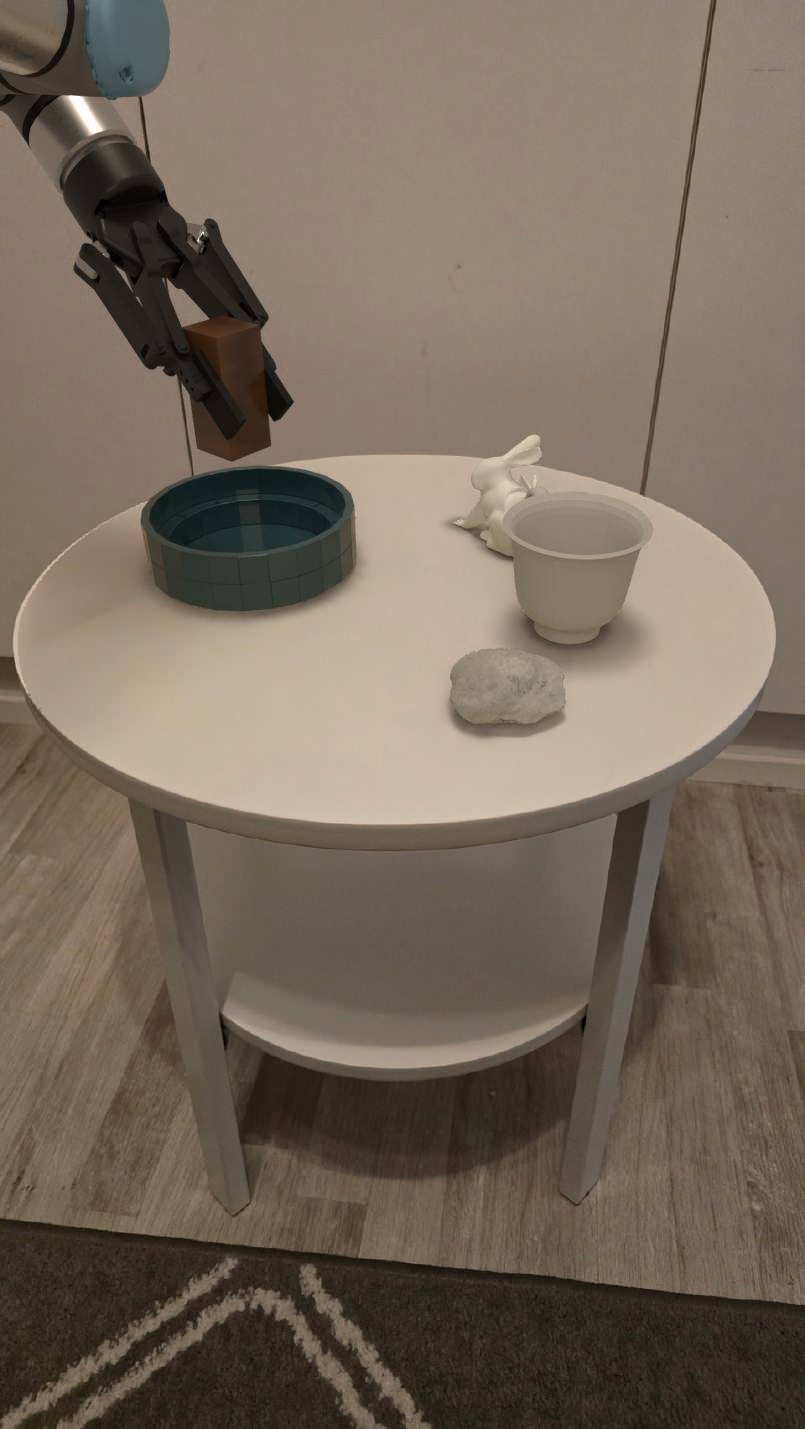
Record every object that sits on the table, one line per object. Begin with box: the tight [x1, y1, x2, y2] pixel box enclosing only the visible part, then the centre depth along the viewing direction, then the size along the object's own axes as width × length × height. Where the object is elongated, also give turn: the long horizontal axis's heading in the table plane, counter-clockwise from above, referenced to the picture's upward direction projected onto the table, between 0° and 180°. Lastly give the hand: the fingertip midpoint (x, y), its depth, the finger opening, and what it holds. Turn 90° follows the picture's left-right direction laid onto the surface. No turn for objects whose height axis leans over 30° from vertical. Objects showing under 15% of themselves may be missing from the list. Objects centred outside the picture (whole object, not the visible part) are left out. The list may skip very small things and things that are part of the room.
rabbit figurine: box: [452, 434, 543, 557], centre depth 96 cm, size 12×8×10 cm, turn 28°
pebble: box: [449, 647, 567, 725], centre depth 74 cm, size 9×8×5 cm
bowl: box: [139, 464, 358, 613], centre depth 93 cm, size 20×20×6 cm
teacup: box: [503, 485, 654, 645], centre depth 83 cm, size 12×15×10 cm
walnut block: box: [182, 316, 272, 463], centre depth 81 cm, size 4×4×10 cm
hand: (260, 420), depth 80 cm, fingers closed on walnut block, 4 cm apart
